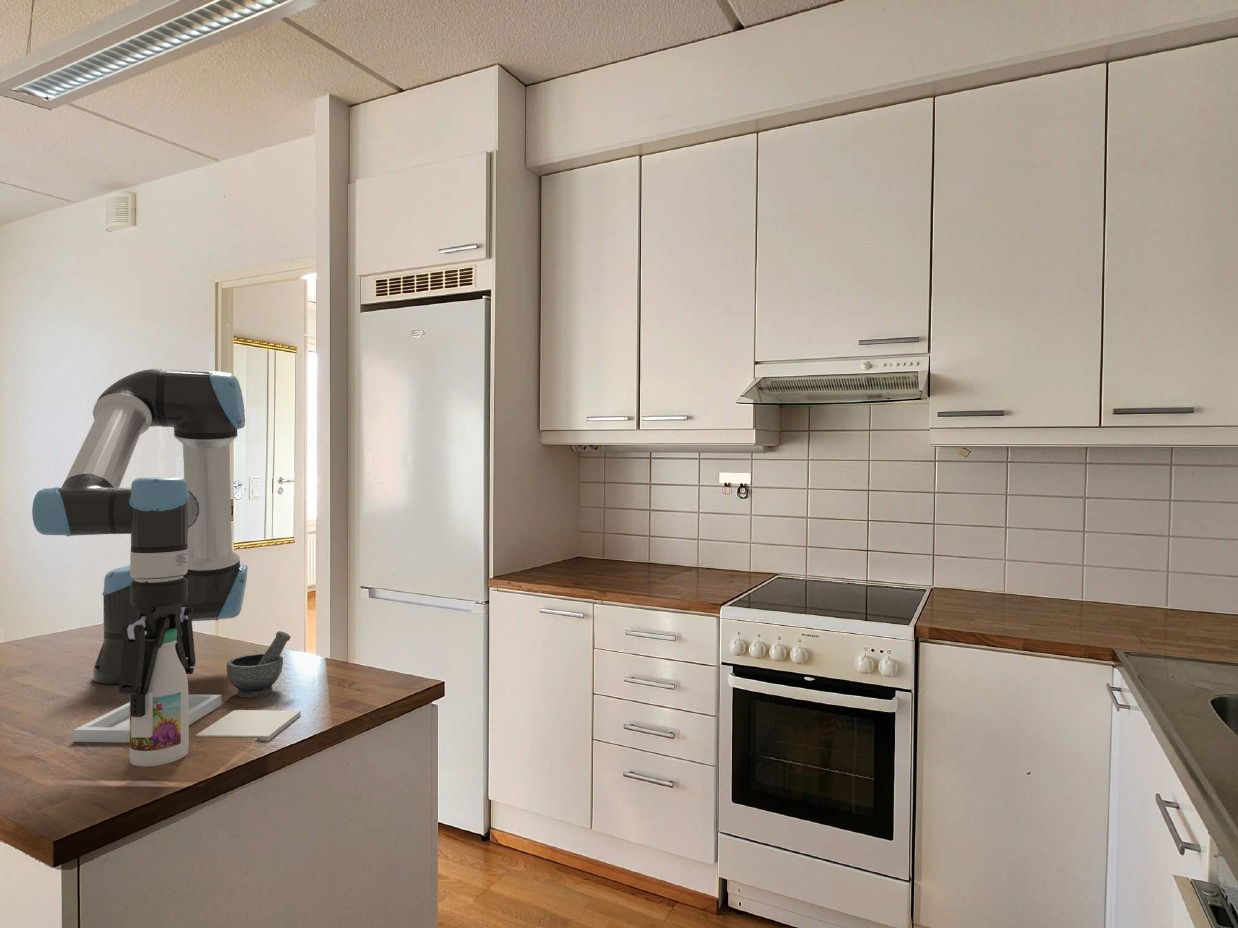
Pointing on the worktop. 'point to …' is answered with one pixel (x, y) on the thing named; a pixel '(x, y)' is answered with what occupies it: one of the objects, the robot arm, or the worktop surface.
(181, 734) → the milk bottle
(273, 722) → the pad
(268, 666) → the mortar and pestle
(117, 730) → the tray
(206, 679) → the worktop surface
